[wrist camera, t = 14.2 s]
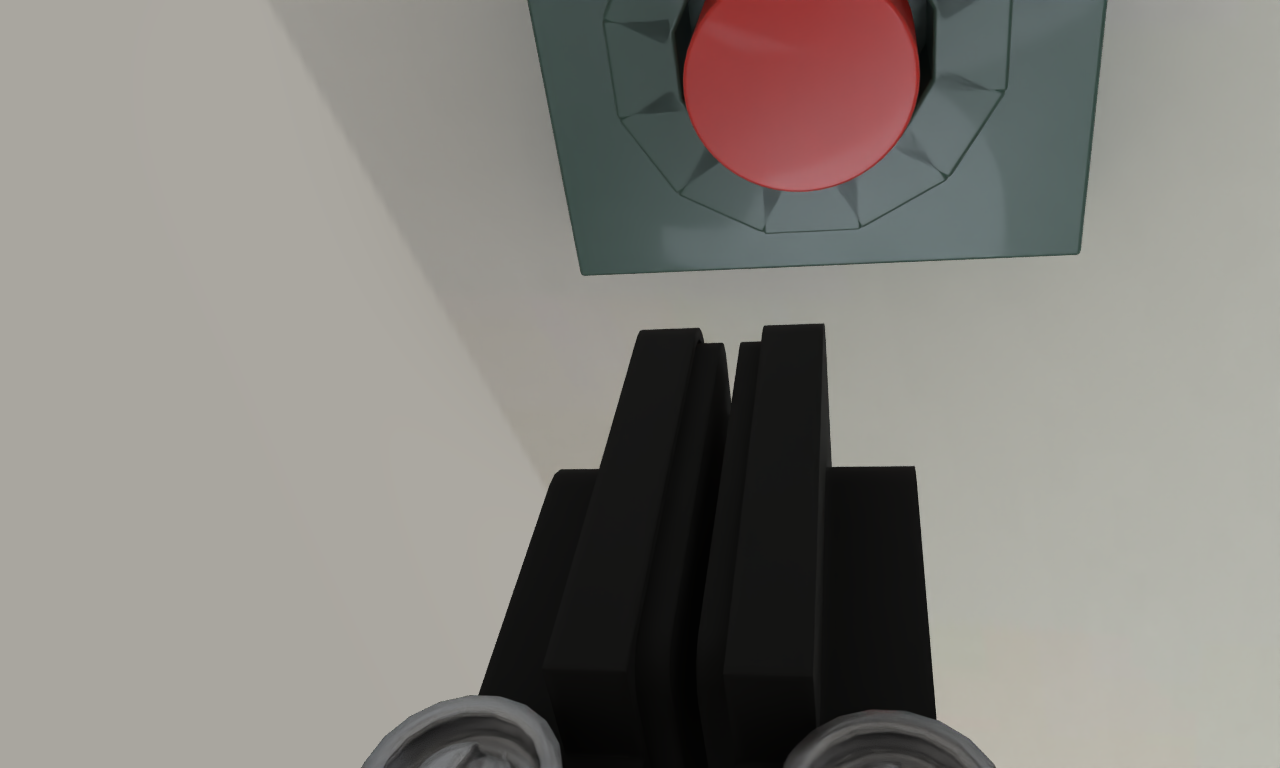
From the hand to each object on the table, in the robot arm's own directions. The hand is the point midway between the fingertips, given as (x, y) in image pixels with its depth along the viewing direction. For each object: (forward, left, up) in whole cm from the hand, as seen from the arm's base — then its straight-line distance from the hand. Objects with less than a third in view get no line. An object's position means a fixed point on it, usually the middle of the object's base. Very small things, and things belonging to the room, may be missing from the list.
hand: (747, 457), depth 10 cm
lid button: (0, 0, -10) cm, 10 cm away
